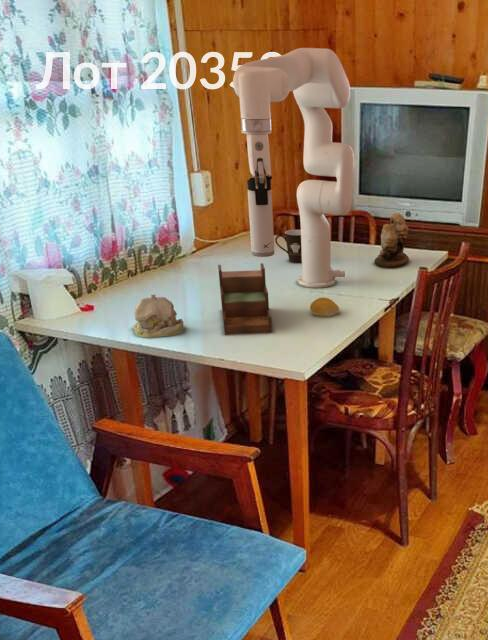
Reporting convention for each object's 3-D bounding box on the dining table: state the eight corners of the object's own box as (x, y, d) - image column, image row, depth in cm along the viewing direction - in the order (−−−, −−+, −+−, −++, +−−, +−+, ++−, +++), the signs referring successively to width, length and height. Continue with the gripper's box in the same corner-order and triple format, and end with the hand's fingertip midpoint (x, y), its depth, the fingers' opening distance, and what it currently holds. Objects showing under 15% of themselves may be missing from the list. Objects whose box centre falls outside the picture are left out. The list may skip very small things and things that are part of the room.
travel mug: (272, 258, 201) (268, 178, 189) (248, 256, 201) (243, 176, 190) (278, 252, 206) (274, 174, 195) (255, 250, 207) (250, 172, 196)
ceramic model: (130, 338, 200) (124, 302, 194) (134, 324, 209) (128, 289, 204) (183, 336, 202) (179, 300, 197) (185, 322, 211) (180, 287, 206)
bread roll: (316, 318, 217) (316, 305, 214) (307, 309, 224) (307, 296, 221) (343, 316, 219) (343, 302, 217) (333, 306, 226) (333, 293, 224)
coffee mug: (314, 260, 271) (313, 231, 265) (300, 265, 264) (299, 236, 259) (289, 255, 276) (288, 227, 270) (274, 260, 270) (273, 231, 264)
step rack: (265, 308, 223) (263, 263, 216) (271, 332, 206) (269, 283, 199) (222, 310, 221) (218, 264, 214) (224, 334, 204) (220, 285, 196)
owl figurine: (383, 254, 279) (384, 206, 270) (413, 257, 276) (416, 209, 267) (369, 266, 265) (370, 216, 255) (401, 270, 262) (403, 219, 252)
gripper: (275, 130, 180) (278, 208, 190) (267, 122, 194) (271, 195, 204) (244, 130, 179) (249, 209, 188) (238, 122, 193) (243, 196, 203)
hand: (260, 201), depth 196 cm, fingers closed on travel mug, 6 cm apart
